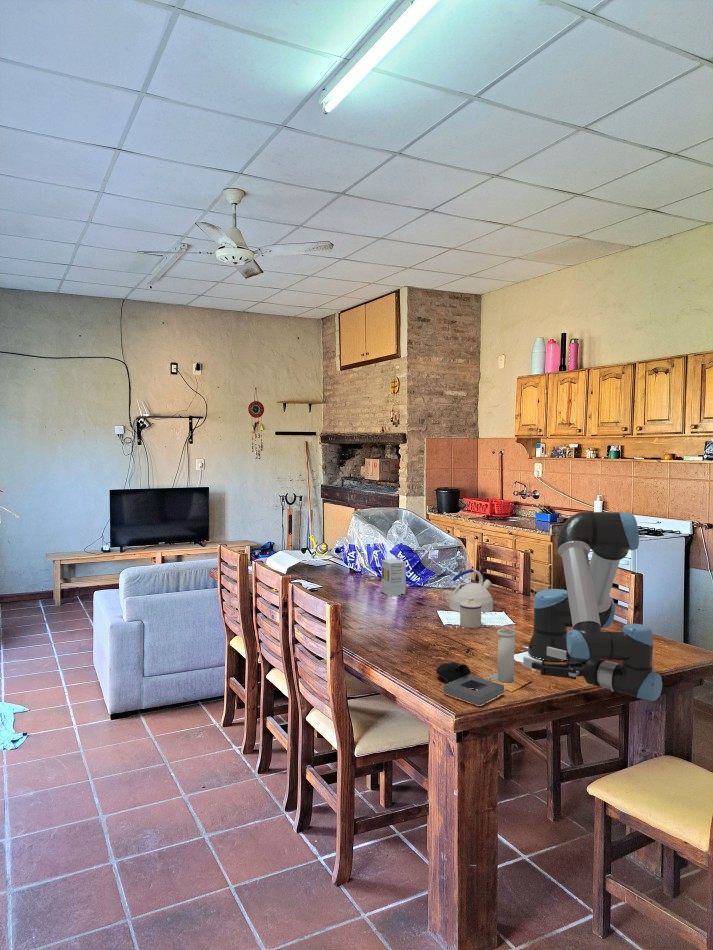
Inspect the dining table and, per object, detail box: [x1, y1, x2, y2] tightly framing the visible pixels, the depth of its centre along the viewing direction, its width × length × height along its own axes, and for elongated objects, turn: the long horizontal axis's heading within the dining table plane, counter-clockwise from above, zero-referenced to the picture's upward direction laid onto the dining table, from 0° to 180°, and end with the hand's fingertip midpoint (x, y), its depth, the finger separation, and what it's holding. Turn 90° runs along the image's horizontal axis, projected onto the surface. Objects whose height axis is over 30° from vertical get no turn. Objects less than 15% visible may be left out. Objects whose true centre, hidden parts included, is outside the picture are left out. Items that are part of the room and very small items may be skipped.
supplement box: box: [380, 558, 407, 597], centre depth 324 cm, size 10×9×17 cm
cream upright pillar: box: [496, 628, 517, 683], centre depth 206 cm, size 6×6×16 cm
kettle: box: [448, 568, 494, 613], centre depth 297 cm, size 20×21×18 cm
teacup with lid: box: [459, 597, 482, 629], centre depth 271 cm, size 12×9×12 cm
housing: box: [443, 674, 505, 705], centre depth 196 cm, size 13×13×3 cm
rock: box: [435, 661, 472, 683], centre depth 208 cm, size 9×10×10 cm
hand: (535, 655), depth 199 cm, fingers open, 13 cm apart
